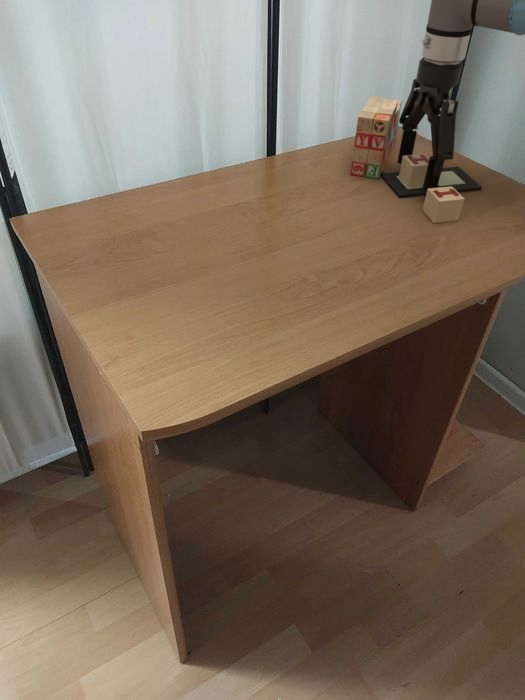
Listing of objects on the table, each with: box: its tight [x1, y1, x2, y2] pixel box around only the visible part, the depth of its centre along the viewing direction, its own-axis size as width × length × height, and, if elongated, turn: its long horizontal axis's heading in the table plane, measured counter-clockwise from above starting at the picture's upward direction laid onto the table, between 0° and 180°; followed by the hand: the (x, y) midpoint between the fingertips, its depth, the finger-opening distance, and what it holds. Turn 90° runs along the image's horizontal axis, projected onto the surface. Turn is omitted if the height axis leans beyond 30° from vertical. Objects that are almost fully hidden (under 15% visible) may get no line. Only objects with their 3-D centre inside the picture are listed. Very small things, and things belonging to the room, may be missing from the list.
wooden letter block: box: [422, 186, 465, 224], centre depth 100 cm, size 5×5×5 cm
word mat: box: [380, 166, 483, 199], centre depth 111 cm, size 10×18×1 cm, turn 102°
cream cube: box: [399, 153, 430, 187], centre depth 109 cm, size 5×5×5 cm
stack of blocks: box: [349, 96, 403, 180], centre depth 116 cm, size 21×6×12 cm, turn 161°
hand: (416, 175), depth 110 cm, fingers open, 12 cm apart
